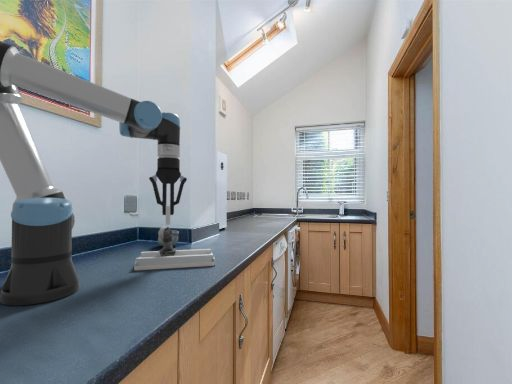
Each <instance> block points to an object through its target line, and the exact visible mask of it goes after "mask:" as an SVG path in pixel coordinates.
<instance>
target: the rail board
mask: <svg viewBox="0 0 512 384" xmlns="http://www.w3.org/2000/svg"><path fill="white" fill-rule="evenodd" d="M133 265H134V266H133V271H148V270H163V269H166V270H167V269H179V268H181V269H182V268H194V267H195V268H197V267H210V266H211V267H214V265H215V266H216V258H215V256H214V254H213V252H212V249H211V248H198V249H196V248H195V249H179V250H177V249H176V251H175V255H174V256H163V257H161V255H160V252H159V250H157V251H156V250H153V251H141V252H140V255H139V256H138V257H136V258H135V262H134V264H133Z"/></svg>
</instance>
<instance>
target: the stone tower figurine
mask: <svg viewBox="0 0 512 384" xmlns="http://www.w3.org/2000/svg"><path fill="white" fill-rule="evenodd" d="M166 227H167V229H166V230H164V239H163V246H162V248H161V249H159V250H158V251H159V252H160V255H161V257H163V256H174V255H175V251H176V250H177V249H175V248H174V246H172V240H173V239H172V230H173V229H170V228H169V226H166Z"/></svg>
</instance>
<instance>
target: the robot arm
mask: <svg viewBox="0 0 512 384" xmlns="http://www.w3.org/2000/svg"><path fill="white" fill-rule="evenodd" d="M19 88H20V89H23V90H26V91H29V92H32V93H35V94H37V95H40V96H44V97H46V98H50V99H52V100H54V101H58V102H61V103H63V104H66V105H70V106H73V107H75V108H79V109H81V110H85V111H87V112H90V113H93V114H97V116H101V117H104V118H108V119H110V120H112V121H116V122H119V134H120V135H121V136H122V137H126V138H131V139H133V138H135V139H144V140H152V141H153V140H154V141H157V157H158V158H157V164H156V165H157V170H156V172H155V174H154V175H152V176H150V177H148V180H149V181H150V182H151V184H152V188H153V189H152V190H153V191H154V197H155V200H156V204H157V205H159V206H162V207H161V209H162V211H161V213H162V216H165V226H171V222H172V221H171V218H172V217H171V216H173V215H174V214H175V206H176V205H178V204H179V203H180V202H181V198H182V197H181V196H182V194H183V189H184V185H185V183H186V182H187V180H188V179H187V177H184V176H183V175H182V172H181V171H180V170H181V169H180V167H181V165H180V156H181V152H180V151H181V147H180V145H181V144H180V141H181V140H180V139H181V138H180V137H181V120H180V117H179V116H178V114H177V113H173V112H162V110H161V108H160V107H159V105H157V104H156V103H155V102H153V101H151V100H142V101H139V100H137V99H134V98H131V97H128V96H126V95H123V94H122V93H118V92H116V91H114V90H111V89H109V88H106V87H104V86H101V85H99V84H96V83H95V82H94V83H93V82H91V81H89V80H86V79H83V78H82V77H79V76H76V75H75V74H74V75H73V74H72V73H69V72H67V71H63V70H61V69H59V68H56V67H54V66H51V65H49V64H47V63H43V62H41V61H39V60H37V59H34V58H32V57H29V56H27V55H24V54H21V52H20V51H19V50H18V49H17V47H15V46H13V45H11V44H8V43H6V42H5V41H4V42H3V41H2V40H0V163H1V165H2V168H3V169H4V170H3V171H4V172H5V175H6V177H7V178H8V181H9V183H10V185H11V187H12V189H13V192H14V193H15V196H16V198H15V200H14V201H13V202H12V209H11V211H10V217H11V251H10V252H11V255H10V256H11V260H10V261H11V263H10V264H11V265H10V268H9V270H8V273H7V276H6V278H5V279H4V282H3V283H4V284H3V285H2V287H1V290H0V303H1V304H2V305H7V306H29V305H37V304H42V303H47V302H52V301H56V300H60V299H63V298H65V297H67V296H71V295H72V294H74V293H77V291H79V289H80V278H79V276H78V273H77V271H76V268H75V265H74V263H73V259H72V250H73V249H72V246H73V245H72V244H73V243H72V239H73V238H72V237H73V236H72V235H73V228H74V226H75V223H76V222H75V220H76V219H75V214H74V210H73V205H72V202H71V201H70V200H68V199H66V197H65V194H64V192H63V190H61V189H60V188H56V187H54V185H53V182H52V180H51V177H50V175H49V173H48V170H47V168H46V167H45V166H46V165H45V163H44V162H43V159H42V157H41V155H40V152H39V149H38V147H37V146H36V143H35V140H34V138H33V136H32V134H31V132H30V129H29V127H28V124H27V122H26V119H25V117H24V115H23V113H22V111H21V108H20V105H21V103H22V101H23V100H24V99H23V97H22V94H21V92H20V89H19ZM158 180H159V182H160V183H162V195H161V196H162V200H161V196H160V191H159V188H158V187H159V186H158V184H157V181H158ZM178 180H179V182H180V184H179V186H178V187H179V188H178V192H177V195H176V198H175V184H176V183H177V182H178ZM168 184H169V191H170V192H169V202H170V203H169V205H167V194H168V193H167V191H168V190H167V188H168Z"/></svg>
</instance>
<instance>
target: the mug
mask: <svg viewBox="0 0 512 384" xmlns="http://www.w3.org/2000/svg"><path fill="white" fill-rule="evenodd" d="M167 227H168V226H161V227H160V228H159V230H158V231H157V234H158V238H157V242H158V244H159V245H160V246H162V247H163V239H164V230H166V229H167ZM171 230H172V239H173V240H172V247H174V246H176V245H177V243H178V242H179V234H180V233H179V232H180V231H178V230H175V229H174V230H173V229H171Z"/></svg>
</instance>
